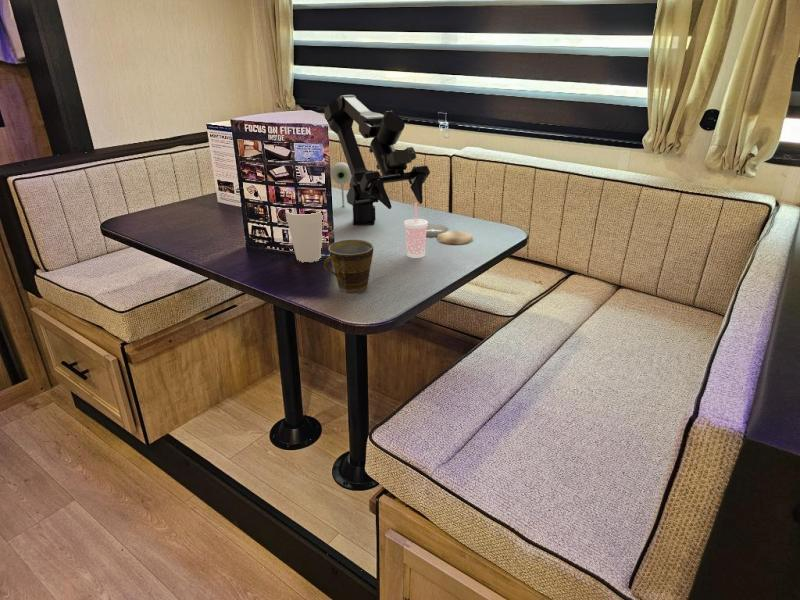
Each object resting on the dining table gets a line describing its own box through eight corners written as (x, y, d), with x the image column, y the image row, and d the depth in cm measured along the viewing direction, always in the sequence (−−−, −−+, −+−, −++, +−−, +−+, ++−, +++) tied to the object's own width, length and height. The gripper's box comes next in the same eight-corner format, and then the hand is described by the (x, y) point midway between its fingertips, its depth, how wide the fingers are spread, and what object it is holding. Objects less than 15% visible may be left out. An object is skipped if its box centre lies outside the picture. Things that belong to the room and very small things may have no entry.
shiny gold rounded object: (439, 244, 149) (439, 242, 149) (435, 233, 158) (435, 231, 158) (475, 243, 150) (475, 241, 149) (469, 232, 159) (469, 230, 158)
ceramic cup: (353, 276, 130) (351, 236, 126) (384, 286, 124) (382, 245, 120) (312, 293, 122) (308, 251, 117) (342, 306, 116) (339, 262, 111)
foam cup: (332, 253, 144) (329, 205, 139) (318, 266, 136) (314, 216, 131) (299, 250, 147) (295, 203, 141) (284, 262, 139) (278, 213, 133)
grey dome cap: (415, 237, 155) (415, 235, 155) (413, 226, 164) (413, 224, 164) (450, 236, 156) (450, 234, 155) (445, 225, 165) (445, 223, 164)
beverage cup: (405, 250, 146) (405, 199, 140) (428, 251, 145) (428, 199, 139) (403, 258, 140) (402, 205, 134) (426, 259, 139) (427, 206, 133)
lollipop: (332, 210, 181) (329, 164, 175) (333, 204, 188) (330, 160, 181) (354, 209, 182) (351, 164, 175) (353, 203, 188) (351, 159, 182)
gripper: (362, 140, 135) (383, 193, 131) (426, 133, 143) (448, 183, 138) (351, 166, 144) (370, 217, 140) (412, 159, 152) (432, 206, 148)
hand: (406, 205), depth 142 cm, fingers open, 9 cm apart
